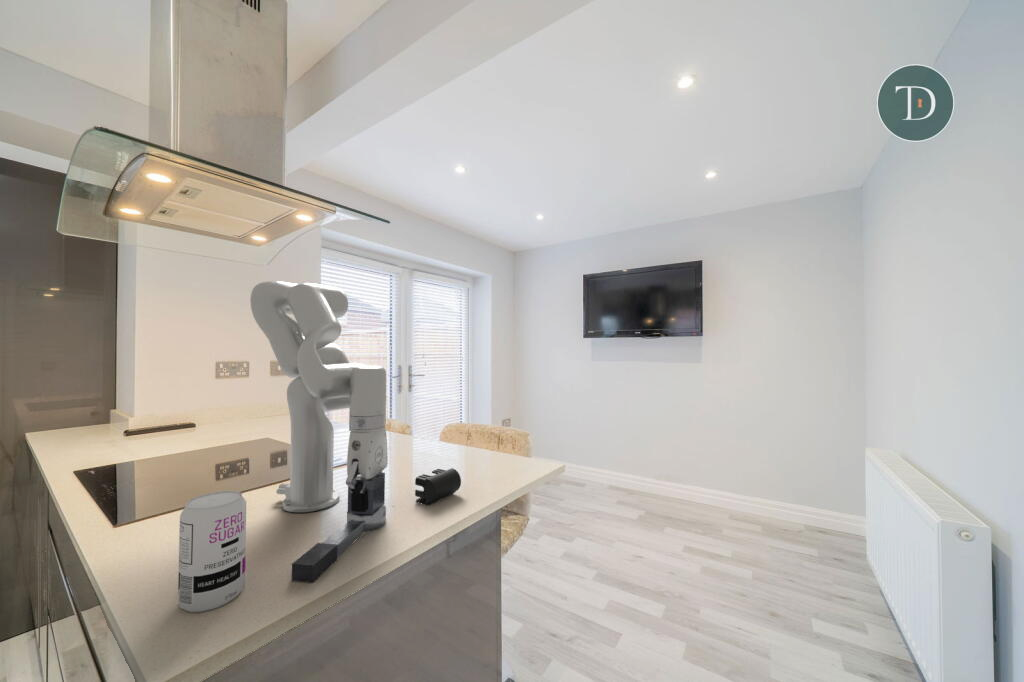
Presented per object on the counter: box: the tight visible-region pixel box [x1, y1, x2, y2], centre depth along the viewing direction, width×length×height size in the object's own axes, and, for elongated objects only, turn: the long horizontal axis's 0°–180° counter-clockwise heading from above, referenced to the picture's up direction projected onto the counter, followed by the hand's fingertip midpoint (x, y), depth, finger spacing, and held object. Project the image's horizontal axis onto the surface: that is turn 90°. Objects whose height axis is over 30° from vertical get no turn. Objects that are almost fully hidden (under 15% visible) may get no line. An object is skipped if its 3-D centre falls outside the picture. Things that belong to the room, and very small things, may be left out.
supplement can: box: [177, 490, 247, 613], centre depth 61 cm, size 8×8×15 cm
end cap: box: [414, 467, 462, 506], centre depth 101 cm, size 10×7×7 cm
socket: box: [347, 472, 386, 514], centre depth 86 cm, size 6×6×7 cm
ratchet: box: [291, 504, 387, 584], centre depth 77 cm, size 8×26×8 cm, turn 173°
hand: (366, 504), depth 86 cm, fingers closed on socket, 5 cm apart
